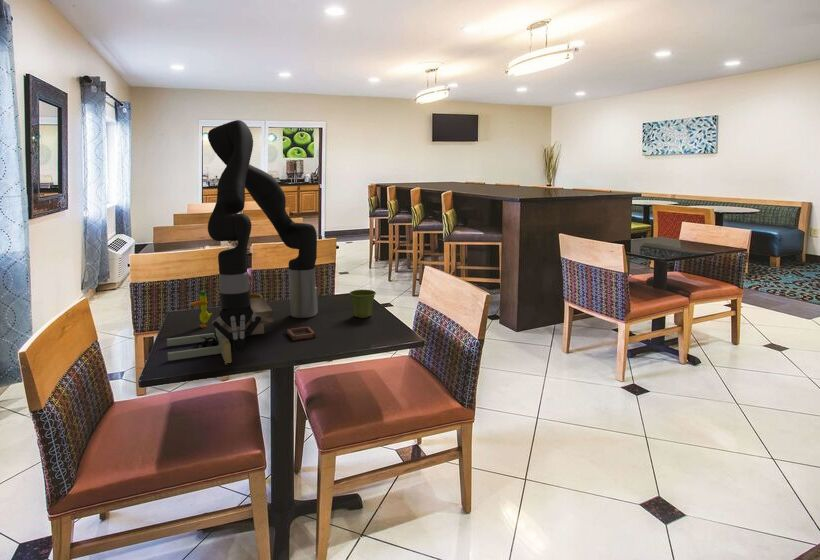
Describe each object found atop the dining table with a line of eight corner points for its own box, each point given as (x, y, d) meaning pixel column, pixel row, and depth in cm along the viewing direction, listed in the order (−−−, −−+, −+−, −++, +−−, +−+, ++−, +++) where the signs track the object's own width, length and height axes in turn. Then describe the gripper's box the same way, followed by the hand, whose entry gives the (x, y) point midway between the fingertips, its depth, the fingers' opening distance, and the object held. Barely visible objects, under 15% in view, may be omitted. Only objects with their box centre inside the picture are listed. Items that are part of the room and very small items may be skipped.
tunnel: (263, 332, 161) (261, 297, 158) (274, 348, 145) (272, 310, 143) (224, 337, 155) (221, 301, 153) (231, 354, 140) (228, 315, 138)
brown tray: (308, 330, 162) (308, 326, 162) (315, 337, 156) (315, 333, 155) (287, 333, 159) (287, 329, 159) (293, 340, 152) (293, 336, 152)
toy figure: (193, 329, 163) (190, 294, 160) (190, 327, 165) (187, 292, 163) (214, 326, 167) (212, 291, 164) (211, 323, 169) (209, 289, 167)
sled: (221, 338, 153) (220, 321, 152) (231, 363, 133) (230, 343, 132) (167, 345, 147) (165, 327, 146) (169, 373, 126) (167, 352, 125)
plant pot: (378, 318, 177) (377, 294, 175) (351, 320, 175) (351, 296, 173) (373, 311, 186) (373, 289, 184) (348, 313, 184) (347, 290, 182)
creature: (193, 361, 139) (222, 351, 142) (187, 343, 137) (217, 334, 140) (192, 352, 146) (220, 342, 149) (186, 335, 144) (214, 326, 147)
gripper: (257, 284, 138) (261, 343, 142) (206, 289, 132) (212, 350, 136) (262, 289, 132) (266, 351, 135) (209, 294, 126) (214, 359, 129)
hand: (239, 351), depth 136 cm, fingers closed
